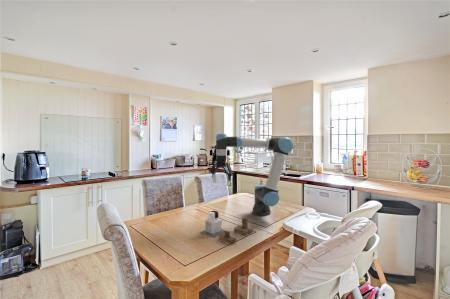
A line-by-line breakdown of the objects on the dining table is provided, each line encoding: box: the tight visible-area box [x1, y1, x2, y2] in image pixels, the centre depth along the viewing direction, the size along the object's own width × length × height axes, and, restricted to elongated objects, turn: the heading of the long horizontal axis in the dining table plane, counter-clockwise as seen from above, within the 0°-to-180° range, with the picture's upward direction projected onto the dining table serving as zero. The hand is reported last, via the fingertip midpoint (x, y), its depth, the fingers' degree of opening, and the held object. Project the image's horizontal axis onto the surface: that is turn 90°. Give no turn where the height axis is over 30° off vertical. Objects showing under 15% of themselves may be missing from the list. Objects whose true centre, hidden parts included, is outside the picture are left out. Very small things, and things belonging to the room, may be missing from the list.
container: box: [204, 210, 223, 234], centre depth 140 cm, size 8×8×13 cm
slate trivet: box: [200, 228, 227, 238], centre depth 140 cm, size 12×12×1 cm
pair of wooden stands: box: [218, 217, 254, 245], centre depth 135 cm, size 23×10×8 cm, turn 140°
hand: (221, 184), depth 156 cm, fingers open, 13 cm apart
